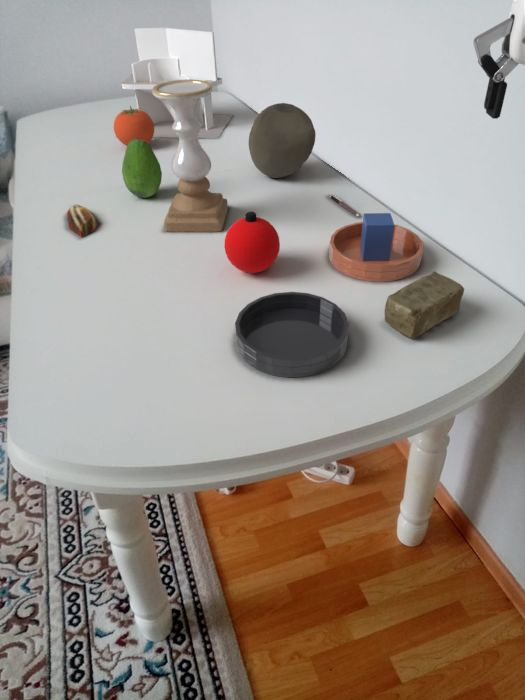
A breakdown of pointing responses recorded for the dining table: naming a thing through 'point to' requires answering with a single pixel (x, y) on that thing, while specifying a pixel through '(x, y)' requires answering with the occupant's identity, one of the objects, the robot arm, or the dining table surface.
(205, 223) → the candle holder
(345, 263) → the terracotta bowl
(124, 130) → the tomato
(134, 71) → the architectural model
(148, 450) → the dining table surface
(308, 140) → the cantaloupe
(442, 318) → the stone block
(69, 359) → the dining table surface
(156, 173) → the fruit
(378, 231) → the blue block
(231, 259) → the ornament
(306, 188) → the dining table surface
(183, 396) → the dining table surface
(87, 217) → the decorative stone
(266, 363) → the charcoal bowl
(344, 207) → the pen
